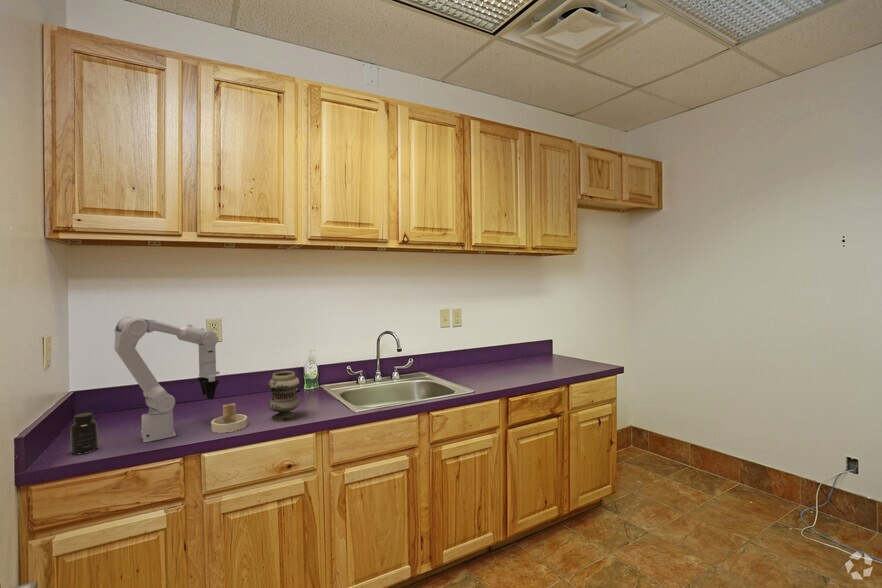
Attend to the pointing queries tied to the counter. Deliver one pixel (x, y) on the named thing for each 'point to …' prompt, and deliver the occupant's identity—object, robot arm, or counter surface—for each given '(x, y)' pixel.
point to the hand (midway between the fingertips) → (208, 396)
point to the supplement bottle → (84, 433)
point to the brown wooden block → (229, 413)
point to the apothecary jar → (284, 395)
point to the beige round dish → (229, 424)
